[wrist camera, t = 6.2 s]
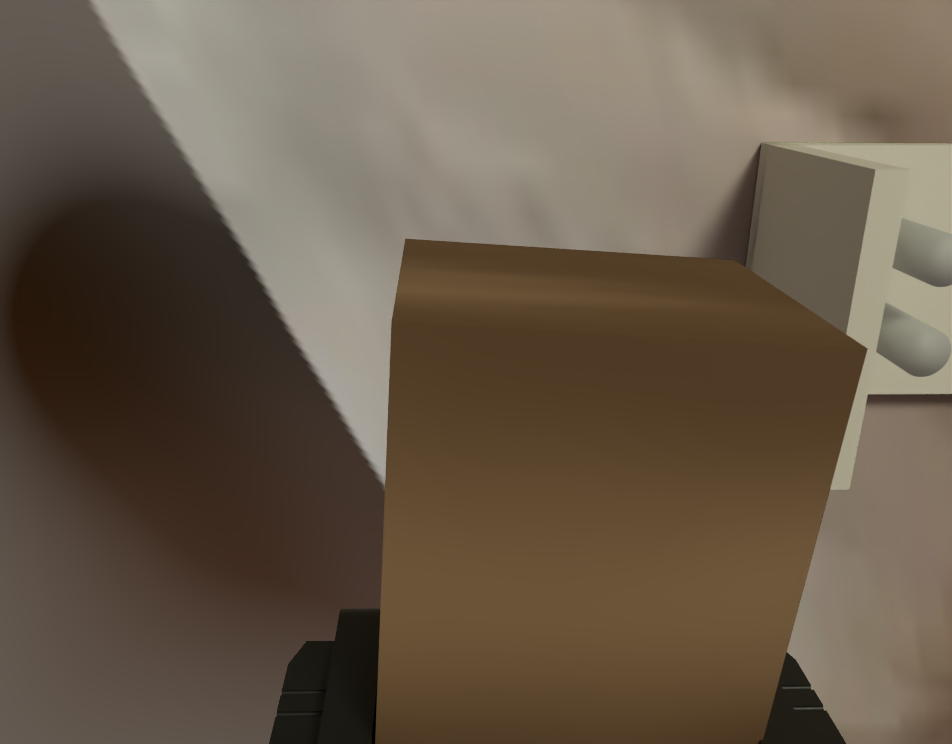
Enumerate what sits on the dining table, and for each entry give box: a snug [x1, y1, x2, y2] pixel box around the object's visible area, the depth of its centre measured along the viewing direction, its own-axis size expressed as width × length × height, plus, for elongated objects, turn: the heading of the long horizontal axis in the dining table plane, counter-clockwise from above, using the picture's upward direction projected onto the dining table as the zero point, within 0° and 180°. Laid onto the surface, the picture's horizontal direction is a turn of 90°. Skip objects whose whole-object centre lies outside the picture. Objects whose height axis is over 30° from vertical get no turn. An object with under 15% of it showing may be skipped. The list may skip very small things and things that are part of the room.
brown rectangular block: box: [375, 239, 868, 744], centre depth 12 cm, size 13×5×4 cm, turn 176°
